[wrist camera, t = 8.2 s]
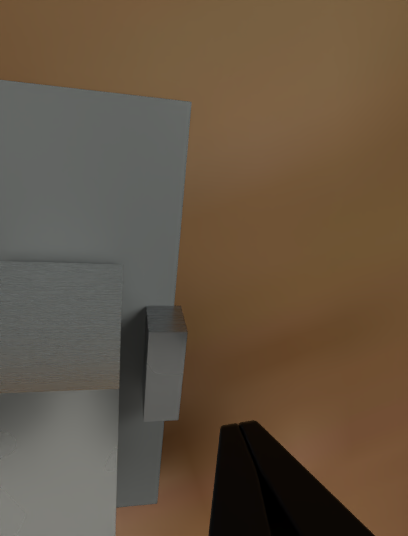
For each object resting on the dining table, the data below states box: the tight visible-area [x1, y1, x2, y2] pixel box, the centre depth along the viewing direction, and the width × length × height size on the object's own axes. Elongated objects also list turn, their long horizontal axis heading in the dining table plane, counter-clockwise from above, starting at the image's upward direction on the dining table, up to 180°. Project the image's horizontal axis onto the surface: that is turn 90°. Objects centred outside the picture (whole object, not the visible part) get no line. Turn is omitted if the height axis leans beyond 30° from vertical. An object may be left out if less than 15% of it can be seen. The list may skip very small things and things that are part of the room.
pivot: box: [142, 306, 187, 422], centre depth 11 cm, size 5×3×2 cm, turn 84°
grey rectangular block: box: [0, 261, 123, 536], centre depth 9 cm, size 3×6×5 cm, turn 174°
